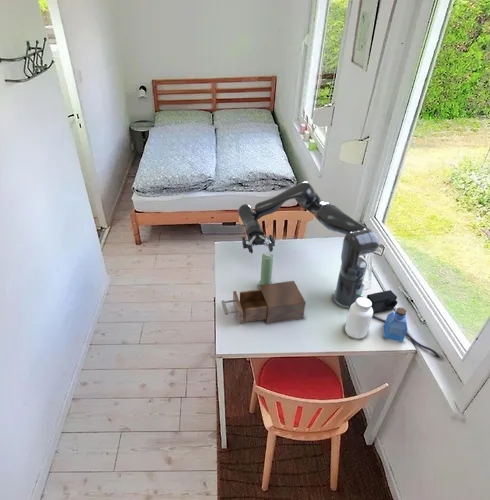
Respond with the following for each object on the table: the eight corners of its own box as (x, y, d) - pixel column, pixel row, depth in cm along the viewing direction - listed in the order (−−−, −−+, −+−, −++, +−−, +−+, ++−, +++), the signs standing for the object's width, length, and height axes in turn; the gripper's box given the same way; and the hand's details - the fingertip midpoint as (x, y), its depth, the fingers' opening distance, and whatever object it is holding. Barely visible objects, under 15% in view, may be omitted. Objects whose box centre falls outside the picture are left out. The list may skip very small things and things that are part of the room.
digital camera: (371, 316, 149) (375, 303, 145) (363, 307, 153) (367, 294, 149) (394, 311, 151) (399, 298, 147) (386, 302, 155) (390, 289, 151)
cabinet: (267, 323, 148) (268, 307, 143) (258, 300, 159) (259, 285, 154) (303, 318, 150) (305, 302, 145) (291, 296, 160) (293, 280, 155)
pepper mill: (273, 287, 165) (276, 254, 155) (265, 293, 162) (268, 259, 152) (264, 281, 168) (267, 248, 158) (256, 287, 166) (258, 253, 155)
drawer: (226, 326, 146) (226, 313, 142) (220, 305, 156) (220, 292, 152) (273, 319, 148) (274, 307, 144) (264, 299, 158) (265, 286, 154)
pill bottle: (367, 327, 145) (376, 297, 136) (365, 342, 139) (374, 312, 130) (346, 321, 148) (353, 292, 139) (343, 335, 142) (350, 306, 133)
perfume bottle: (401, 329, 143) (410, 306, 136) (402, 341, 138) (411, 318, 131) (383, 326, 145) (391, 302, 138) (384, 337, 140) (392, 314, 133)
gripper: (239, 225, 177) (245, 245, 164) (269, 223, 178) (278, 242, 164) (239, 239, 181) (245, 259, 168) (268, 236, 182) (277, 256, 169)
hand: (261, 251), depth 166 cm, fingers open, 8 cm apart
